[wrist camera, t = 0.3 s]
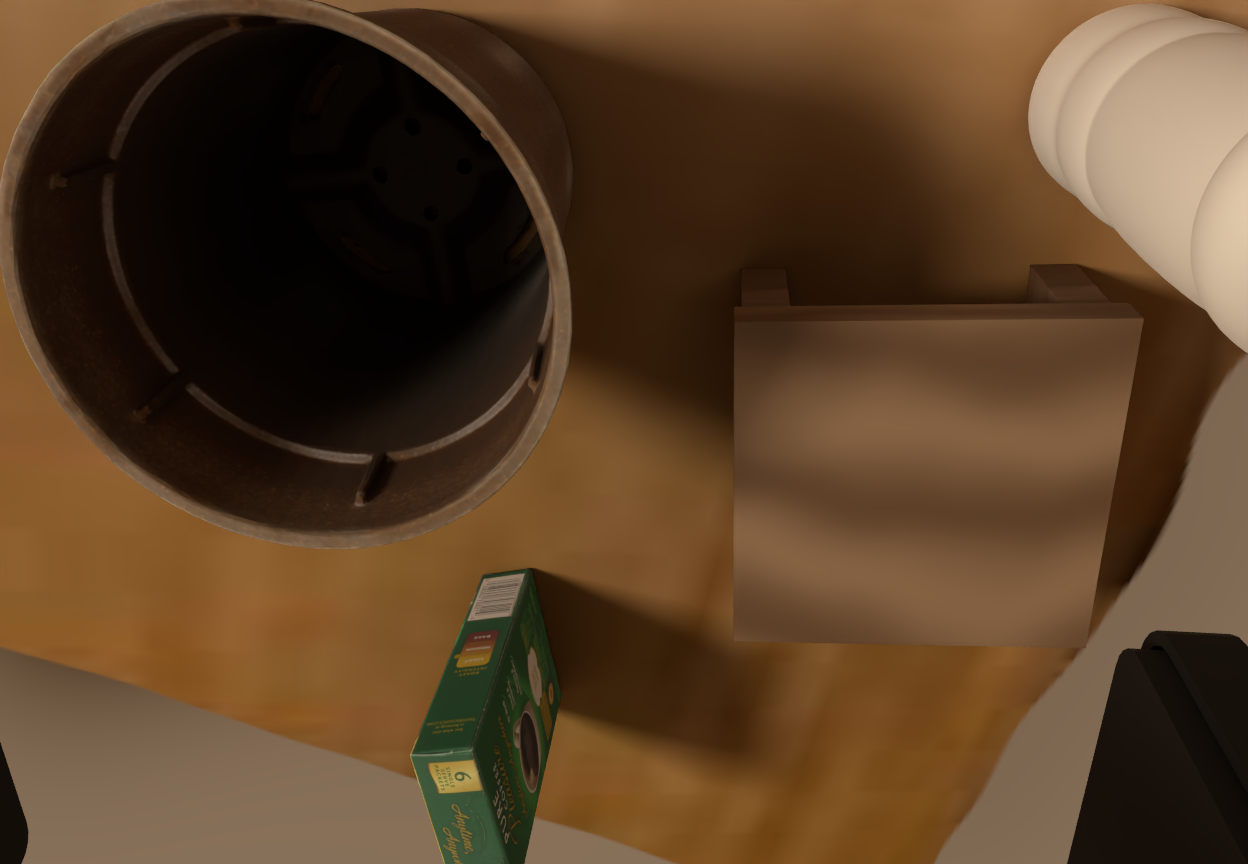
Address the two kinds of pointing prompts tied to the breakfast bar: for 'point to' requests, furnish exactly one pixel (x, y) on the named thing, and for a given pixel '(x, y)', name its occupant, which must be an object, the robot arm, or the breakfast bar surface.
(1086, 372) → the small square stand
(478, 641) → the coffee box
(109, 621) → the breakfast bar surface
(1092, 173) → the water bottle
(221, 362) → the plant pot
